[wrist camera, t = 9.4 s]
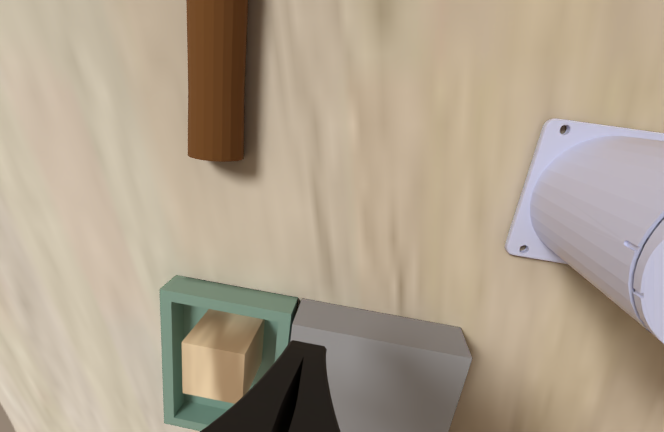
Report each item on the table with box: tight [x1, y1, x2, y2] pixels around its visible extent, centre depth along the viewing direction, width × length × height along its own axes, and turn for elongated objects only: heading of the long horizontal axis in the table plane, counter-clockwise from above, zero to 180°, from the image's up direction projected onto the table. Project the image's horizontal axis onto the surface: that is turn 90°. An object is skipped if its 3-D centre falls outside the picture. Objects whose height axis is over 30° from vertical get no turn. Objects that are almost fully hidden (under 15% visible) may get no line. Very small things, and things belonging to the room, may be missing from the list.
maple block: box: [182, 309, 265, 404], centre depth 23 cm, size 4×4×4 cm
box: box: [160, 275, 298, 431], centre depth 25 cm, size 9×12×2 cm
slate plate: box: [290, 298, 472, 432], centre depth 24 cm, size 11×12×3 cm
